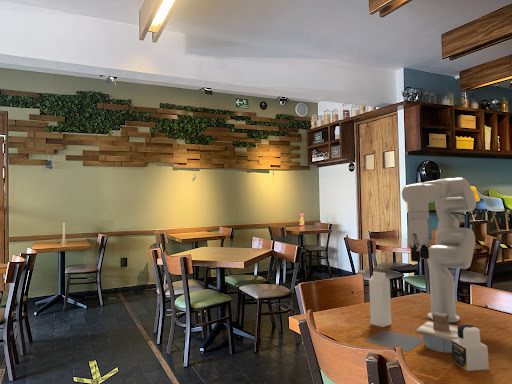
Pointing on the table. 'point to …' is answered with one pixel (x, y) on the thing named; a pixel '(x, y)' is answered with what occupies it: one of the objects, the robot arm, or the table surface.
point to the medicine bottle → (469, 349)
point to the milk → (380, 299)
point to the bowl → (438, 344)
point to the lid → (439, 327)
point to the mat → (395, 340)
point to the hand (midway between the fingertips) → (420, 259)
